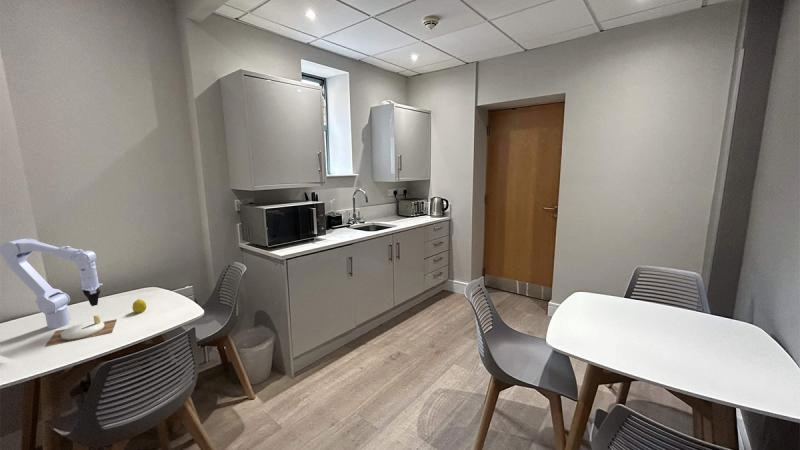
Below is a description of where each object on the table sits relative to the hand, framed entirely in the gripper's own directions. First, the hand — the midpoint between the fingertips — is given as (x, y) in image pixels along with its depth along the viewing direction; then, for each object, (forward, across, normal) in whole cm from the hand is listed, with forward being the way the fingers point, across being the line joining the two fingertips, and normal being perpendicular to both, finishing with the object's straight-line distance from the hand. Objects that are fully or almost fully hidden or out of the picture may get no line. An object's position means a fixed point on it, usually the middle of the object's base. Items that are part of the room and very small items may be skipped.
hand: (93, 304), depth 153 cm
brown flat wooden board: (+10, -8, +5) cm, 14 cm away
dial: (+9, -8, +5) cm, 13 cm away
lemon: (+11, 0, -16) cm, 20 cm away
